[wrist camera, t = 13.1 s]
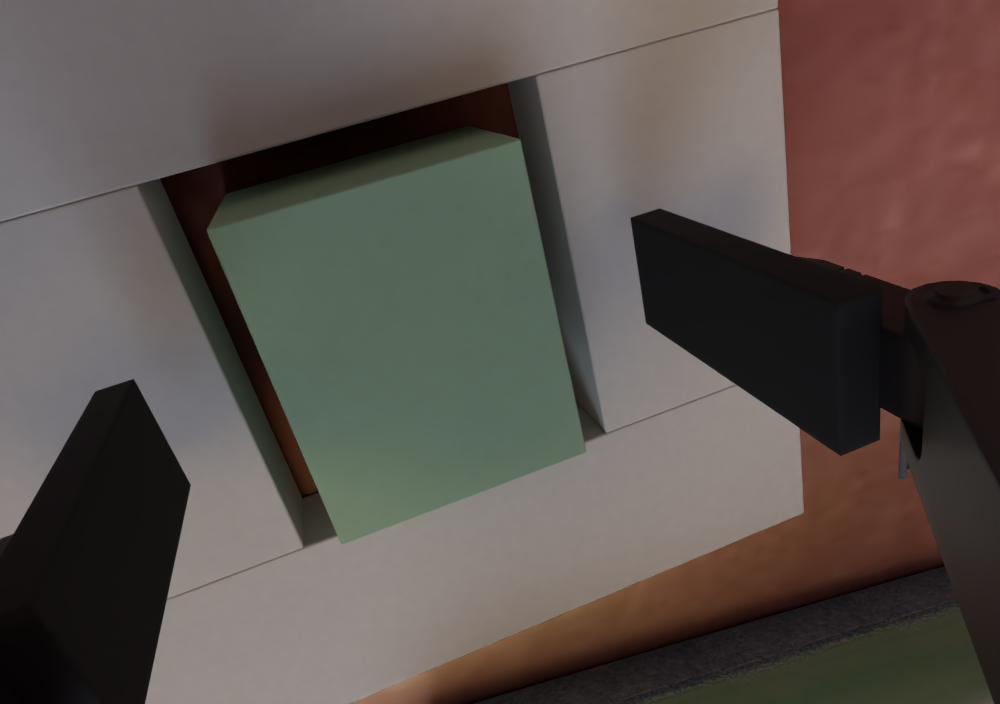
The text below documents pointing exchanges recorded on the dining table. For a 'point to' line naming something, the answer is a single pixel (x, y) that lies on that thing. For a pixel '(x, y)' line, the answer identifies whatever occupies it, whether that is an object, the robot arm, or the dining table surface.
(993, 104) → the dining table surface
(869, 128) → the dining table surface
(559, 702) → the planter
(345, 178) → the green block
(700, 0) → the base pad
